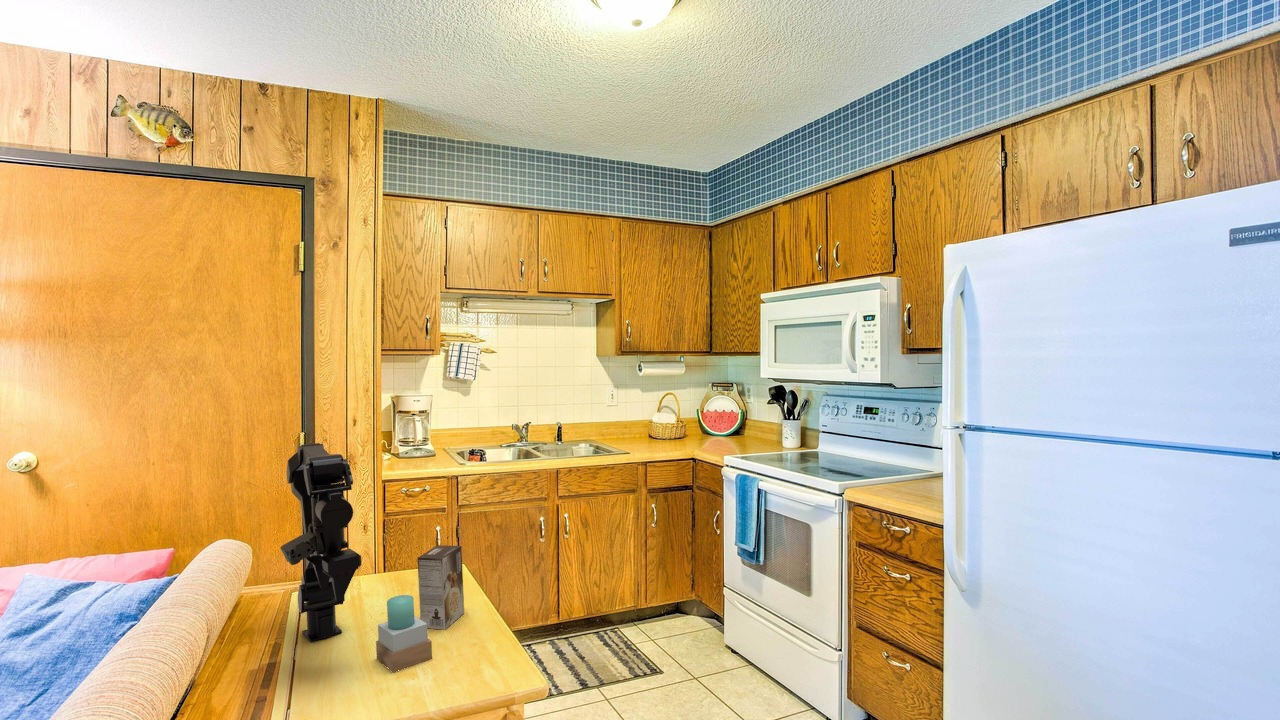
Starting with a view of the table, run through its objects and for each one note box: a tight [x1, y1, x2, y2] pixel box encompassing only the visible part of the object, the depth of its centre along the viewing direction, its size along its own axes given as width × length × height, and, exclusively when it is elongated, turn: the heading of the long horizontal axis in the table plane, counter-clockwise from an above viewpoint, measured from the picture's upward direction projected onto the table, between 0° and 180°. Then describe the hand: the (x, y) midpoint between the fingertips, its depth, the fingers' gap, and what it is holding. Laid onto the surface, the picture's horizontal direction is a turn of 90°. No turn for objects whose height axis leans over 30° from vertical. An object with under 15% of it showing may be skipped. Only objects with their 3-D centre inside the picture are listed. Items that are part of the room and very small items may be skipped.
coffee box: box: [416, 544, 465, 630], centre depth 153 cm, size 9×6×16 cm
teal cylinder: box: [386, 594, 415, 630], centre depth 135 cm, size 5×5×5 cm
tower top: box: [377, 615, 429, 653], centre depth 135 cm, size 7×7×4 cm
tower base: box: [375, 638, 433, 673], centre depth 136 cm, size 8×8×4 cm
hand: (331, 594), depth 136 cm, fingers open, 9 cm apart
